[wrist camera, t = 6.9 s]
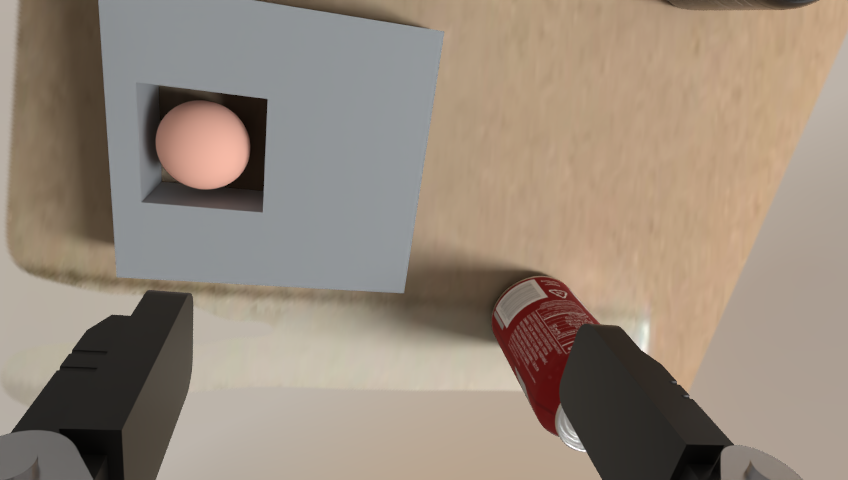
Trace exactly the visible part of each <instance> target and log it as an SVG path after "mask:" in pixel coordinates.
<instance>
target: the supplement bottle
mask: <svg viewBox="0 0 848 480" xmlns="http://www.w3.org/2000/svg"><path fill="white" fill-rule="evenodd" d="M667 1H669V2H670V3H671V4H673V5H675V6H677V7H679V8H682V9H687V10H785V9H796V8H801V7H804V6H807V5H810V4H812V3H815V2H817V1H819V0H667Z"/></svg>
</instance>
